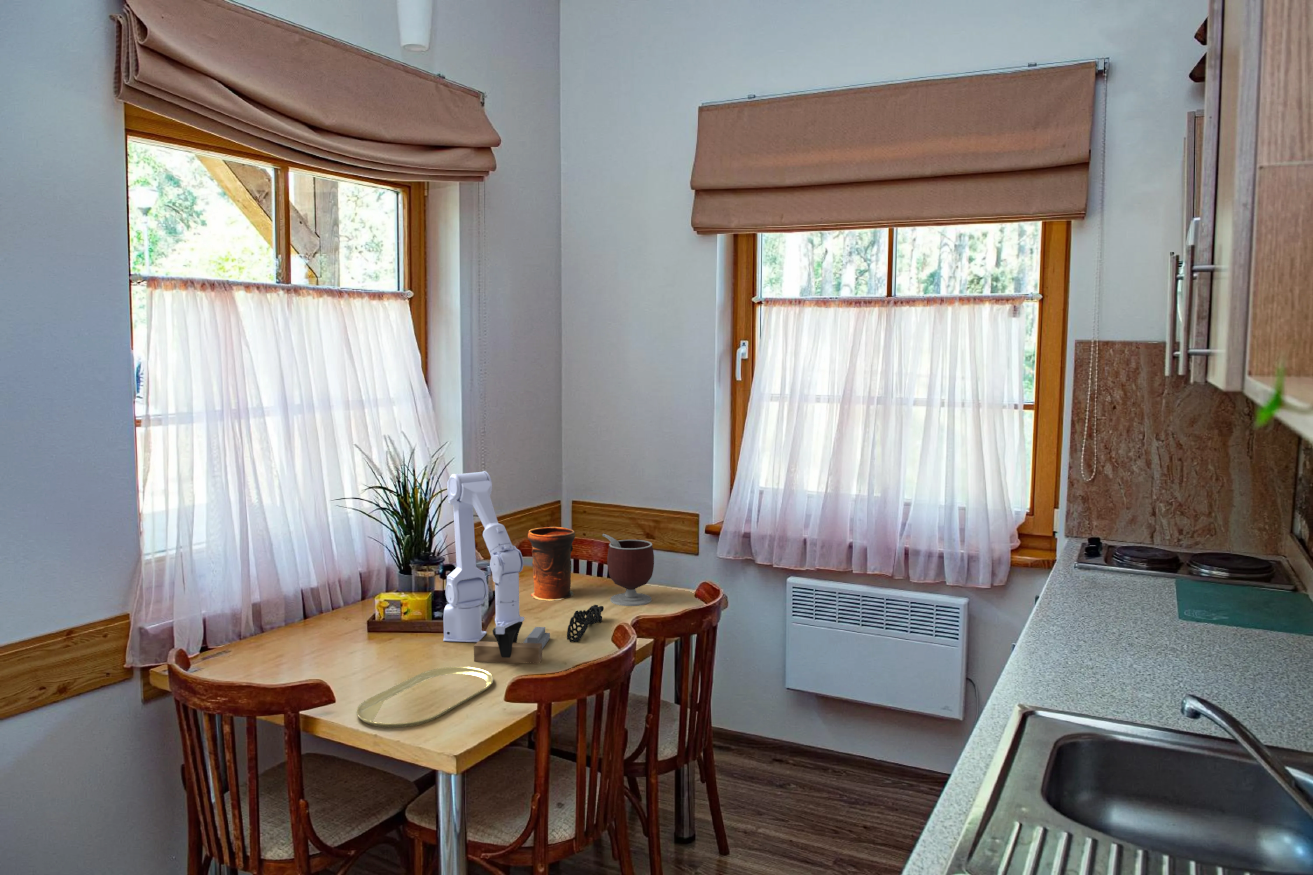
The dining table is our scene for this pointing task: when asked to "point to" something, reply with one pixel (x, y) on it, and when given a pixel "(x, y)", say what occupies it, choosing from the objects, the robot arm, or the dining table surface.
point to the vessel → (551, 562)
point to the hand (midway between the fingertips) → (508, 654)
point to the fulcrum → (538, 636)
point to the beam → (518, 654)
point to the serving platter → (373, 704)
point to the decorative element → (583, 621)
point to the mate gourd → (630, 569)
